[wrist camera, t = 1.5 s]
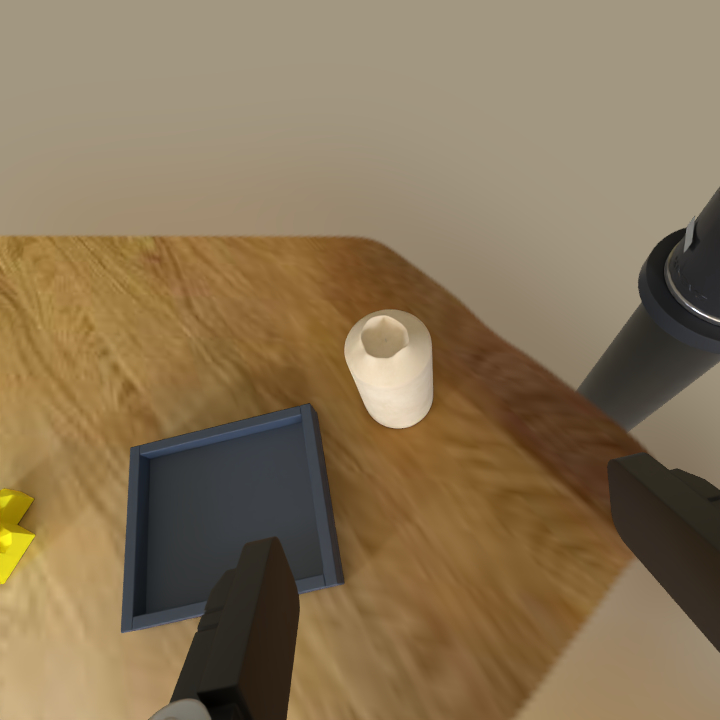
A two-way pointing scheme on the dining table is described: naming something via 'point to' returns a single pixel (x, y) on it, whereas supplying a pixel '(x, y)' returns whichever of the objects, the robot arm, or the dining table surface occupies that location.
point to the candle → (392, 366)
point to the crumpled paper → (12, 530)
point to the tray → (225, 512)
